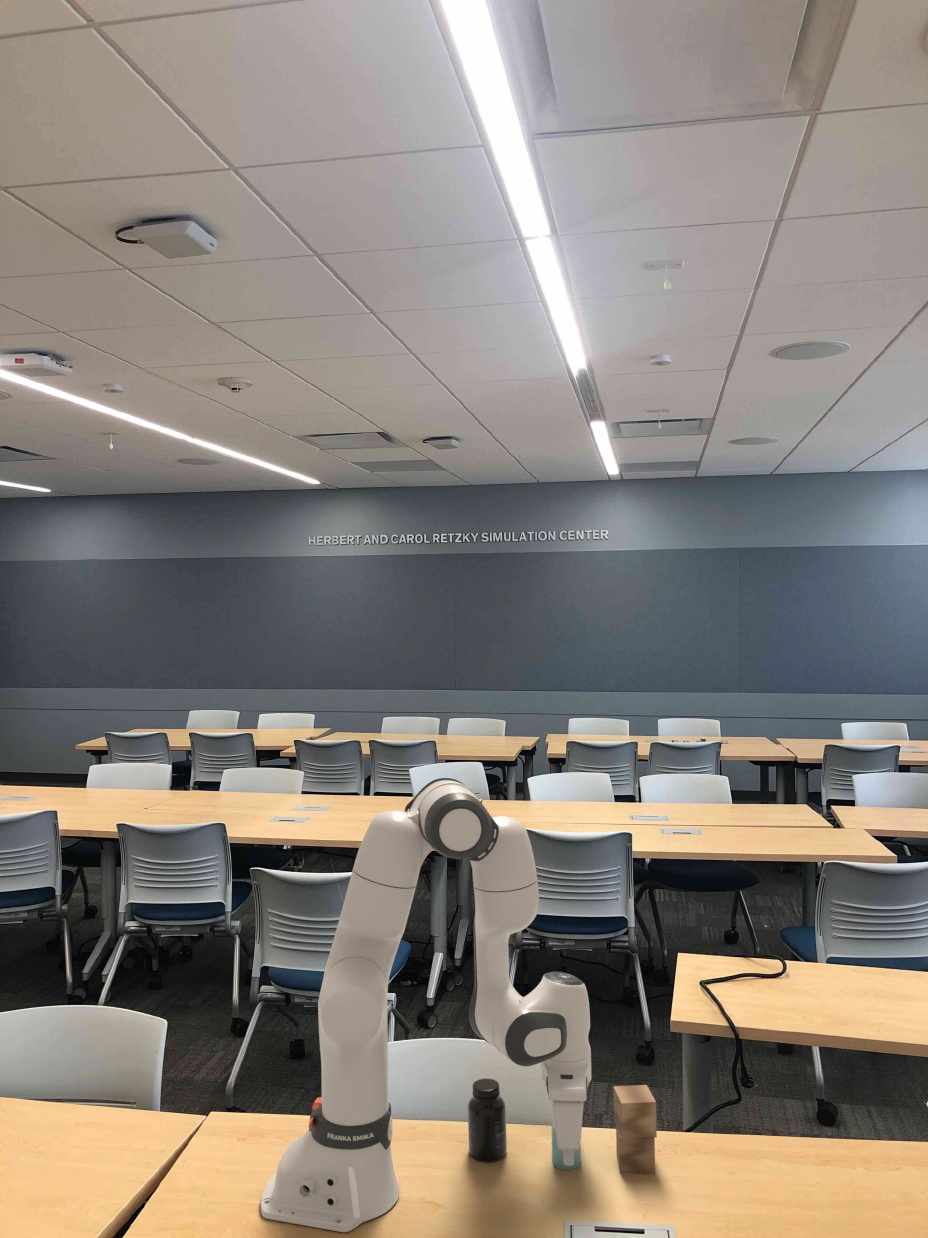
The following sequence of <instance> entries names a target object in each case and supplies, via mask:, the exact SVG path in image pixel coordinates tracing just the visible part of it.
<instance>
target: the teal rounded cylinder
mask: <svg viewBox="0 0 928 1238" xmlns="http://www.w3.org/2000/svg"><path fill="white" fill-rule="evenodd" d="M581 1151H582V1149H581V1143H580V1147H579V1149H578V1150H574V1164H573V1165H564V1163H563V1150H560V1149H559V1148H558V1145H557V1140H556V1132H555V1124H554V1122H552V1124H551V1159H552V1160H551V1163H552V1164H553V1166H555V1168H558V1169H560V1170H564V1171H565V1170H567V1171H571V1170H575V1169H578V1168H580V1166H581V1163H582V1160H581V1159H582V1157H581V1156H582V1154H581Z"/></svg>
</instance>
